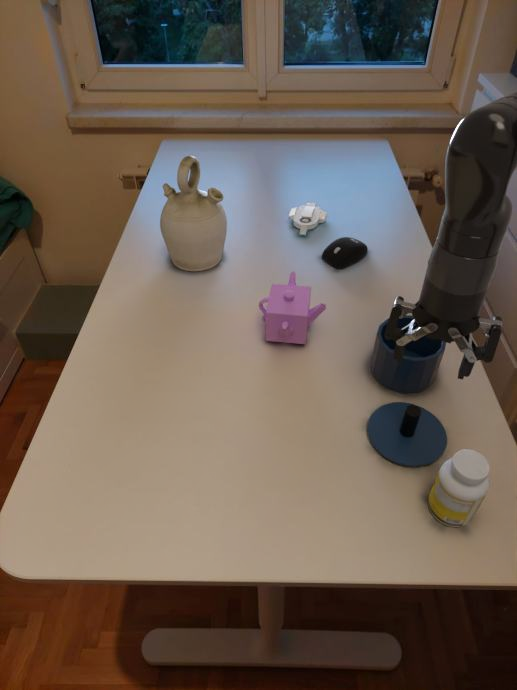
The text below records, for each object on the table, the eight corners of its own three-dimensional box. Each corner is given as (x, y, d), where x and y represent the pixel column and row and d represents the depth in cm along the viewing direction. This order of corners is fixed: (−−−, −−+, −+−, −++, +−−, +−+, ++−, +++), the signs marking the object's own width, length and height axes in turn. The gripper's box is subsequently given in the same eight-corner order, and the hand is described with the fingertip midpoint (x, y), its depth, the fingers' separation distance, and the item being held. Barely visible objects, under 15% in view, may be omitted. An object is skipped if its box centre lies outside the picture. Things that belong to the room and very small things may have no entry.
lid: (449, 417, 86) (459, 392, 81) (441, 479, 77) (452, 454, 73) (374, 398, 89) (380, 372, 85) (359, 454, 81) (364, 429, 76)
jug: (241, 253, 124) (237, 153, 107) (199, 283, 115) (188, 179, 98) (195, 234, 131) (185, 137, 113) (152, 261, 122) (134, 160, 104)
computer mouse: (374, 254, 123) (377, 240, 120) (339, 272, 118) (341, 257, 115) (352, 241, 127) (354, 227, 125) (317, 258, 122) (319, 244, 119)
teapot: (321, 366, 95) (325, 327, 89) (252, 359, 97) (251, 321, 90) (325, 306, 108) (329, 269, 102) (264, 302, 110) (264, 264, 103)
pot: (438, 357, 97) (449, 323, 91) (430, 401, 89) (442, 367, 83) (377, 342, 100) (384, 309, 94) (364, 383, 92) (371, 350, 86)
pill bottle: (463, 487, 76) (486, 441, 68) (479, 527, 72) (506, 483, 64) (421, 489, 76) (439, 444, 68) (434, 530, 71) (456, 486, 63)
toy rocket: (294, 205, 142) (294, 197, 140) (328, 209, 140) (329, 201, 138) (283, 234, 130) (283, 226, 129) (320, 238, 128) (320, 230, 127)
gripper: (394, 280, 61) (375, 373, 72) (521, 305, 57) (480, 399, 68) (404, 248, 66) (385, 339, 77) (521, 269, 62) (483, 362, 73)
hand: (429, 367), depth 72 cm, fingers open, 8 cm apart
